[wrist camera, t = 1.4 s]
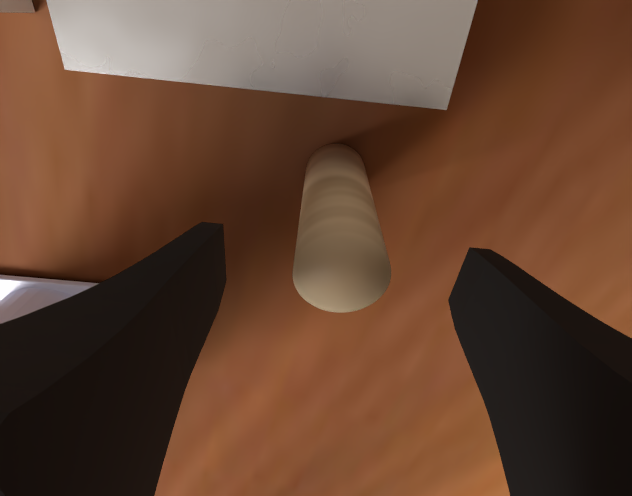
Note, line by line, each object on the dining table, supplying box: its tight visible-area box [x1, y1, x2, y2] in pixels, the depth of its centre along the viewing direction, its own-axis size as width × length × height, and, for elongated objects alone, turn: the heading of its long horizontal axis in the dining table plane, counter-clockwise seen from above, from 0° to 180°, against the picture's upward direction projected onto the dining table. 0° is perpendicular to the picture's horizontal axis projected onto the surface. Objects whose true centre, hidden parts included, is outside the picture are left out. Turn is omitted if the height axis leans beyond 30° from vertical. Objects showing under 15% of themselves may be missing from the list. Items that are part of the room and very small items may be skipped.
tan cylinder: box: [293, 143, 391, 312], centre depth 13 cm, size 3×3×8 cm
